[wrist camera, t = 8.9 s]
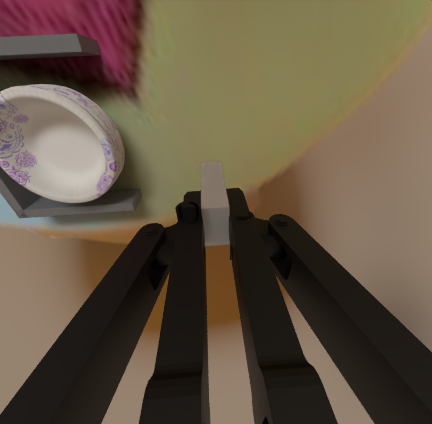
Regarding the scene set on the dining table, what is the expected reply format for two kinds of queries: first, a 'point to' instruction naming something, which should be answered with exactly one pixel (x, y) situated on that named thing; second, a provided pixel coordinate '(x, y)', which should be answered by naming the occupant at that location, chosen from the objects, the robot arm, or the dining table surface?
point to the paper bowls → (58, 143)
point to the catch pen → (16, 193)
